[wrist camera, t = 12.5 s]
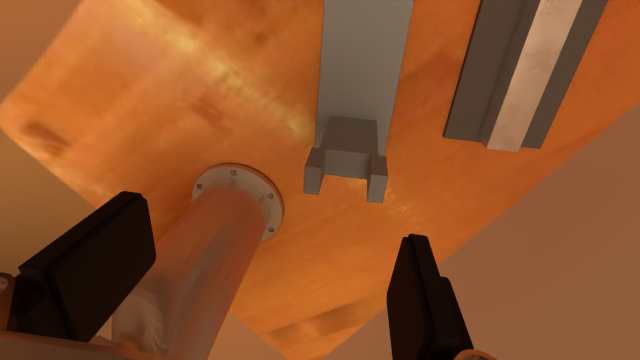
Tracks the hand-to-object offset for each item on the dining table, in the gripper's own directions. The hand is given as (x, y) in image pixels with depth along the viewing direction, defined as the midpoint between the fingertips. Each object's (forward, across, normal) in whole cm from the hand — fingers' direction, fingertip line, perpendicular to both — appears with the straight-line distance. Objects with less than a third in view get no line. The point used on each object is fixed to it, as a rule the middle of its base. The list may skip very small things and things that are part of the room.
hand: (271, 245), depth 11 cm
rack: (+25, -3, -6) cm, 26 cm away
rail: (+24, -18, -10) cm, 32 cm away
